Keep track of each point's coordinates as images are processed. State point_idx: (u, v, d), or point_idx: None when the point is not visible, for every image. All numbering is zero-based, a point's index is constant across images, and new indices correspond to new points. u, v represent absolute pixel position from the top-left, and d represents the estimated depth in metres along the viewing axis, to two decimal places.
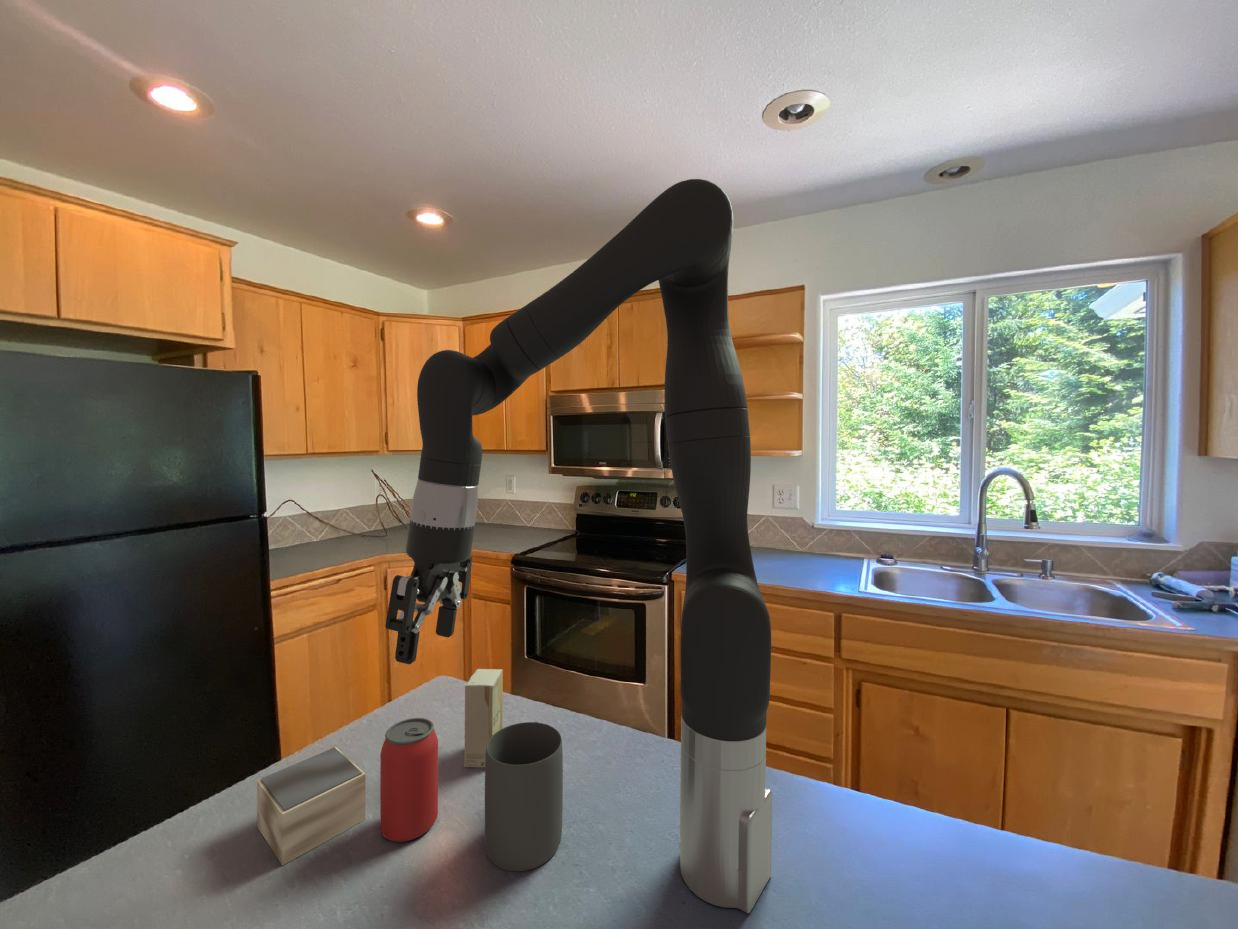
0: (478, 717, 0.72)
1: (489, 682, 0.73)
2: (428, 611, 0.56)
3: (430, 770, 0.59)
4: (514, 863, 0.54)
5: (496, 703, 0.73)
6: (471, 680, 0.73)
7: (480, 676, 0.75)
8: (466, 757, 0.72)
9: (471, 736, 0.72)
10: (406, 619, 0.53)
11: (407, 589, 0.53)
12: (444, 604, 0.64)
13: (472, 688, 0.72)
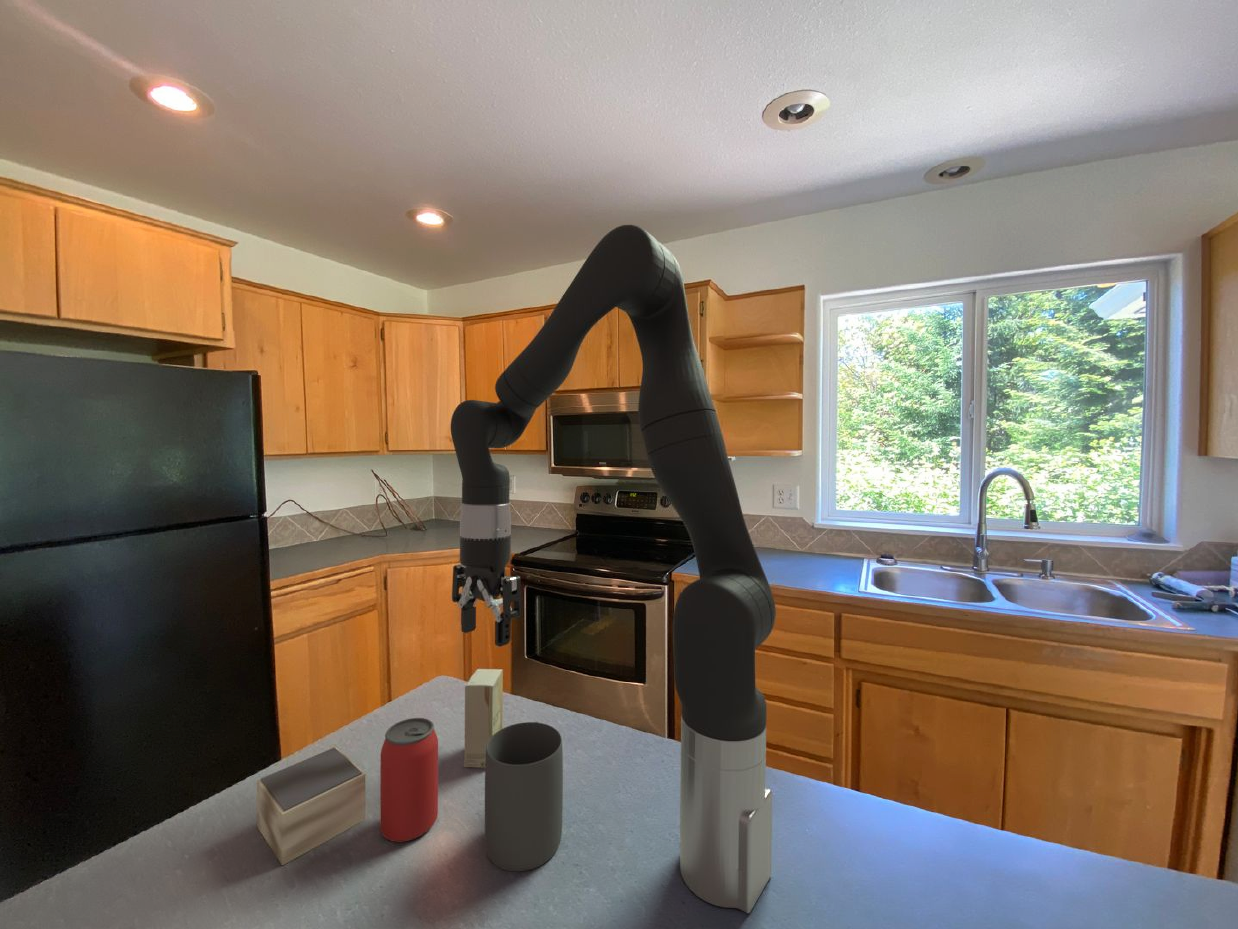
0: (478, 717, 0.72)
1: (489, 682, 0.73)
2: None
3: (430, 770, 0.59)
4: (514, 863, 0.54)
5: (496, 703, 0.73)
6: (471, 680, 0.73)
7: (480, 676, 0.75)
8: (466, 757, 0.72)
9: (471, 736, 0.72)
10: (520, 605, 0.71)
11: (517, 584, 0.71)
12: (466, 606, 0.77)
13: (472, 688, 0.72)
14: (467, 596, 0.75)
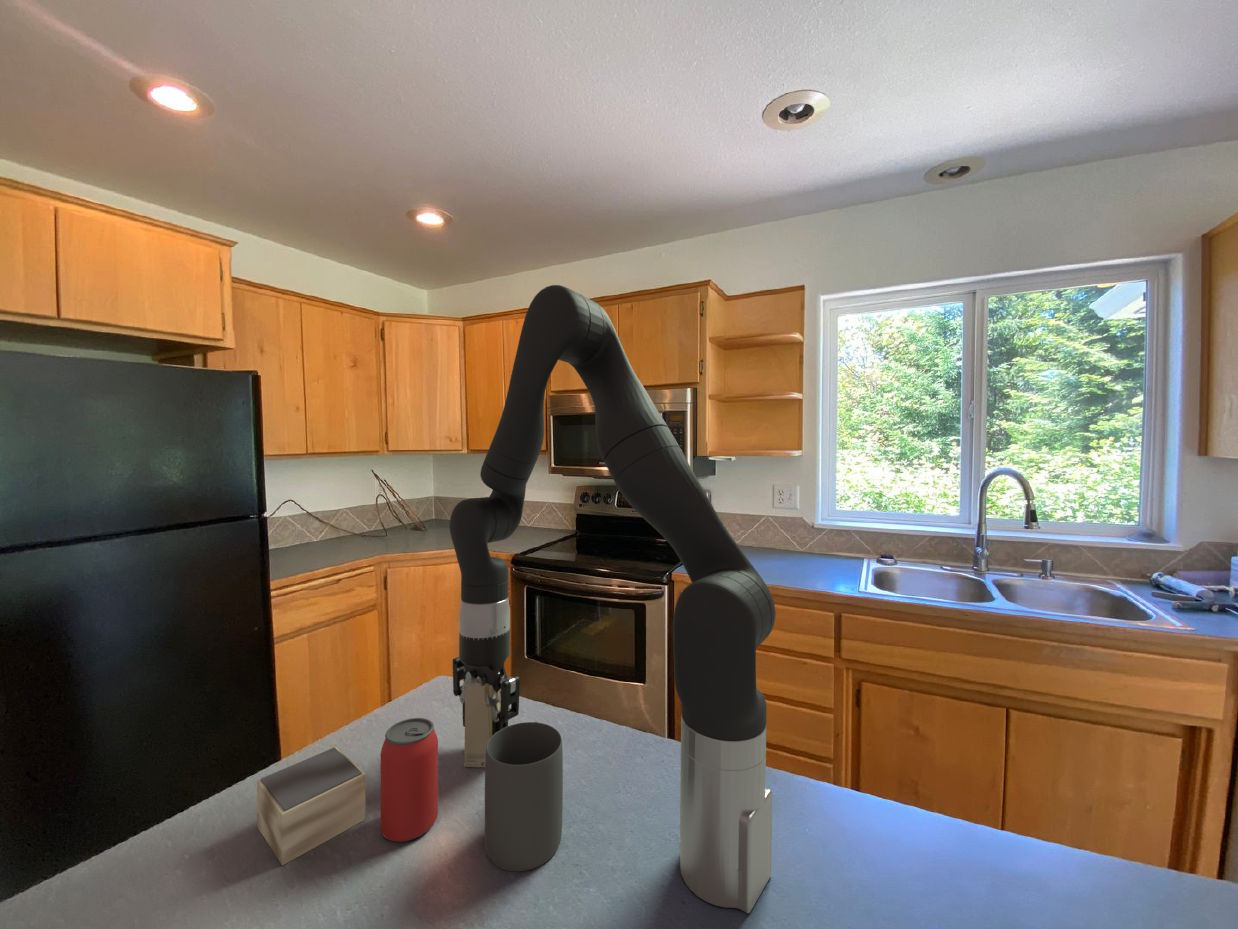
0: (478, 717, 0.72)
1: None
2: None
3: (430, 770, 0.59)
4: (514, 863, 0.54)
5: None
6: (471, 680, 0.73)
7: None
8: (467, 757, 0.72)
9: (471, 736, 0.72)
10: (518, 705, 0.71)
11: (516, 685, 0.71)
12: None
13: (472, 688, 0.72)
14: None
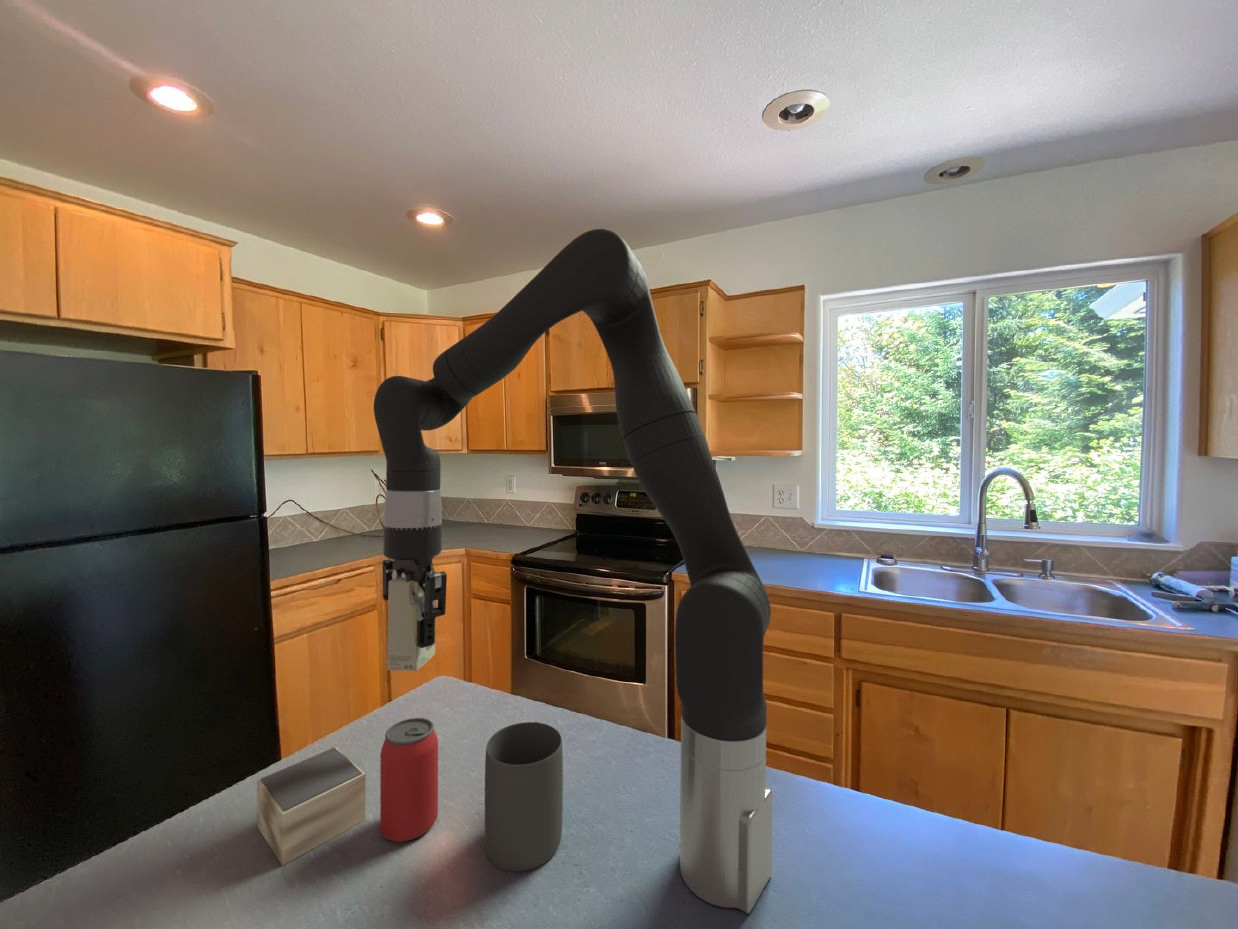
0: (402, 615, 0.65)
1: None
2: None
3: (430, 770, 0.59)
4: (514, 863, 0.54)
5: None
6: (397, 578, 0.67)
7: None
8: (389, 659, 0.65)
9: (394, 637, 0.65)
10: (445, 604, 0.65)
11: (442, 581, 0.64)
12: None
13: (396, 584, 0.65)
14: None
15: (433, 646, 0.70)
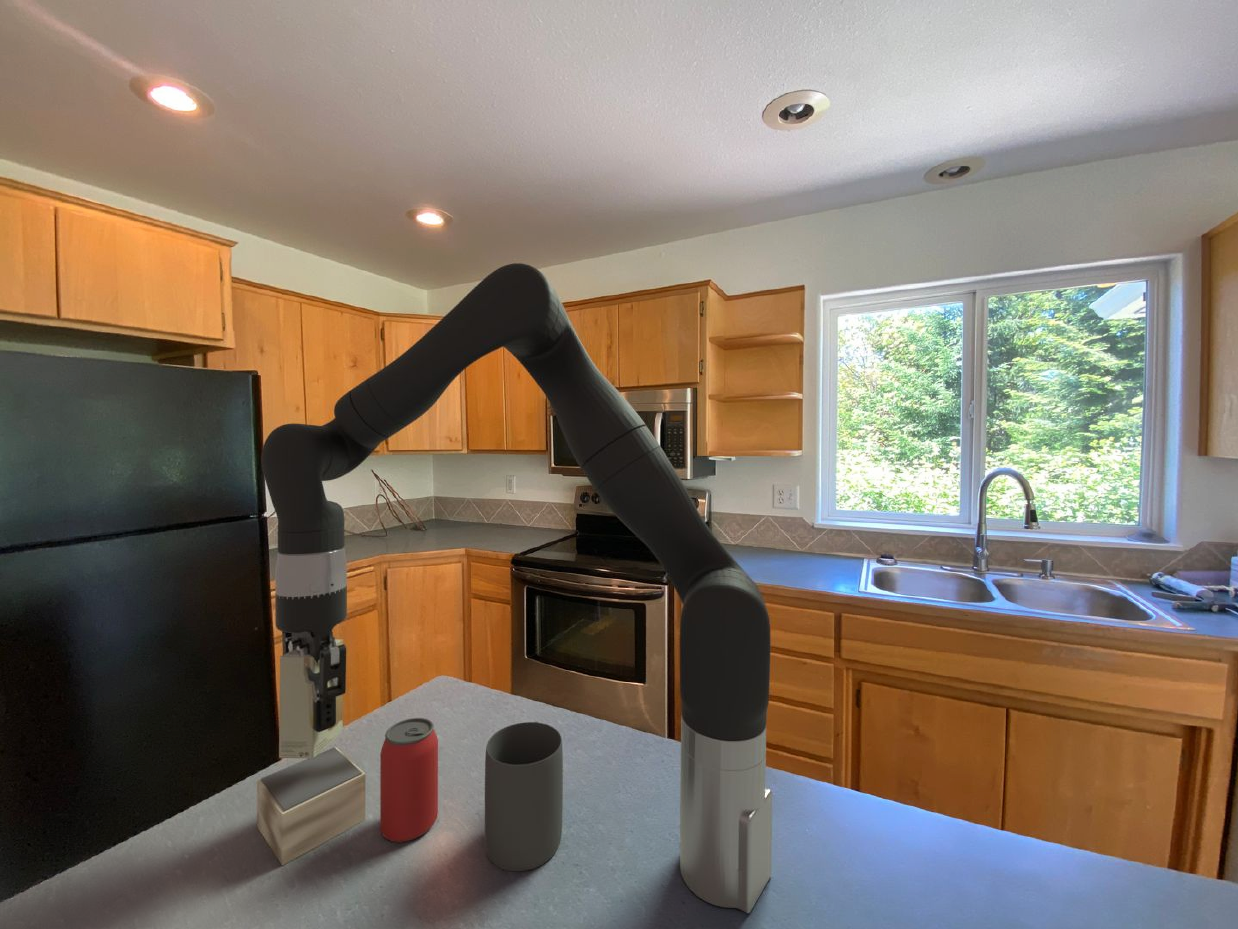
0: (296, 695, 0.57)
1: None
2: None
3: (430, 770, 0.59)
4: (514, 863, 0.54)
5: None
6: (292, 651, 0.59)
7: None
8: (282, 746, 0.57)
9: (287, 720, 0.57)
10: (344, 681, 0.57)
11: (341, 656, 0.57)
12: None
13: (288, 660, 0.57)
14: None
15: (339, 723, 0.63)
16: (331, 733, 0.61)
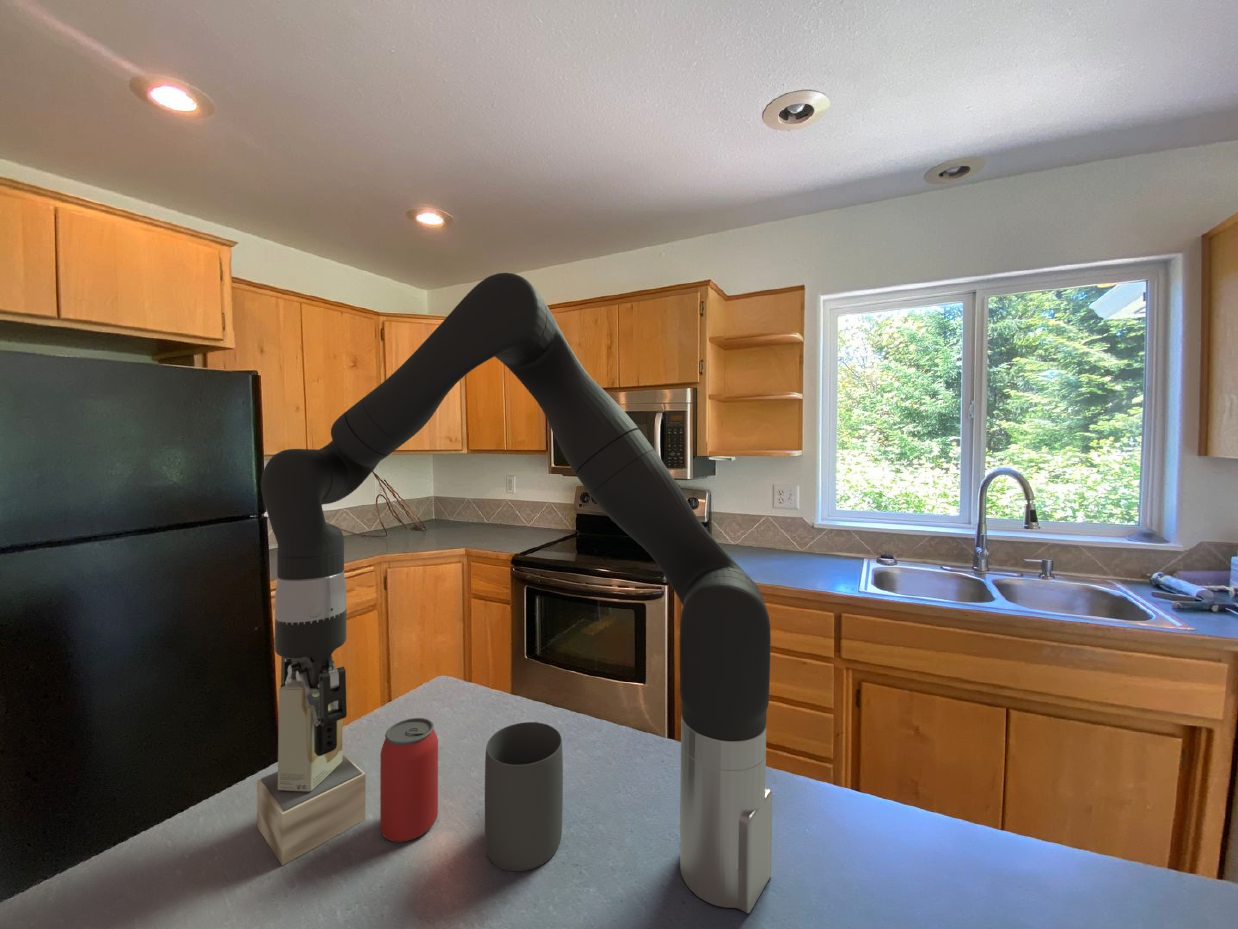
0: (294, 728, 0.58)
1: None
2: None
3: (430, 770, 0.59)
4: (514, 863, 0.54)
5: None
6: (292, 682, 0.59)
7: None
8: (280, 778, 0.58)
9: (285, 752, 0.58)
10: (345, 704, 0.57)
11: (340, 678, 0.57)
12: None
13: (287, 692, 0.58)
14: None
15: (339, 754, 0.63)
16: (330, 764, 0.61)
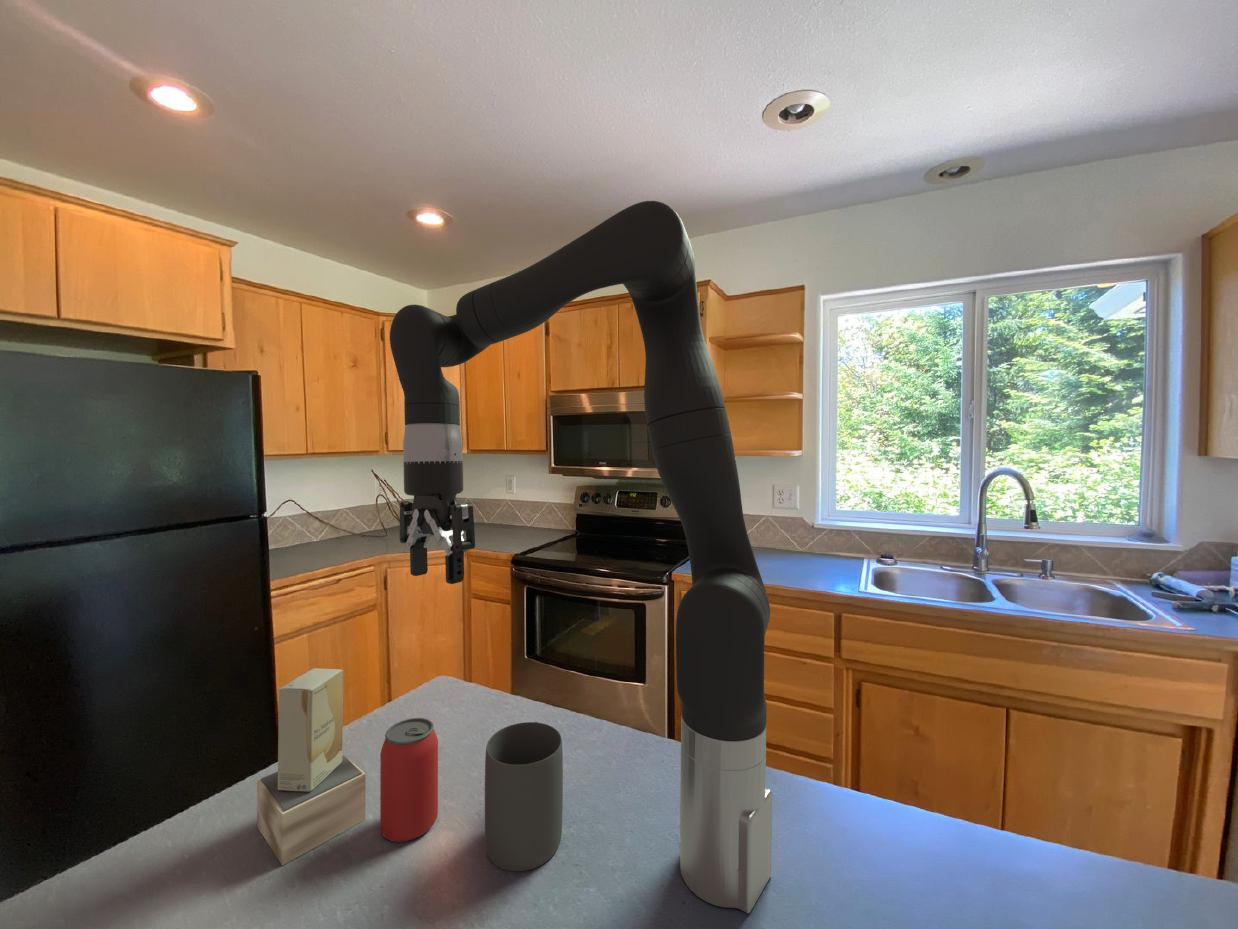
0: (294, 728, 0.58)
1: (312, 685, 0.59)
2: (461, 534, 0.65)
3: (430, 770, 0.59)
4: (514, 863, 0.54)
5: (322, 711, 0.59)
6: (292, 682, 0.59)
7: (307, 677, 0.61)
8: (280, 778, 0.58)
9: (285, 752, 0.58)
10: (474, 536, 0.62)
11: (469, 511, 0.62)
12: (415, 546, 0.68)
13: (287, 692, 0.58)
14: (414, 532, 0.66)
15: (339, 754, 0.63)
16: (330, 764, 0.61)
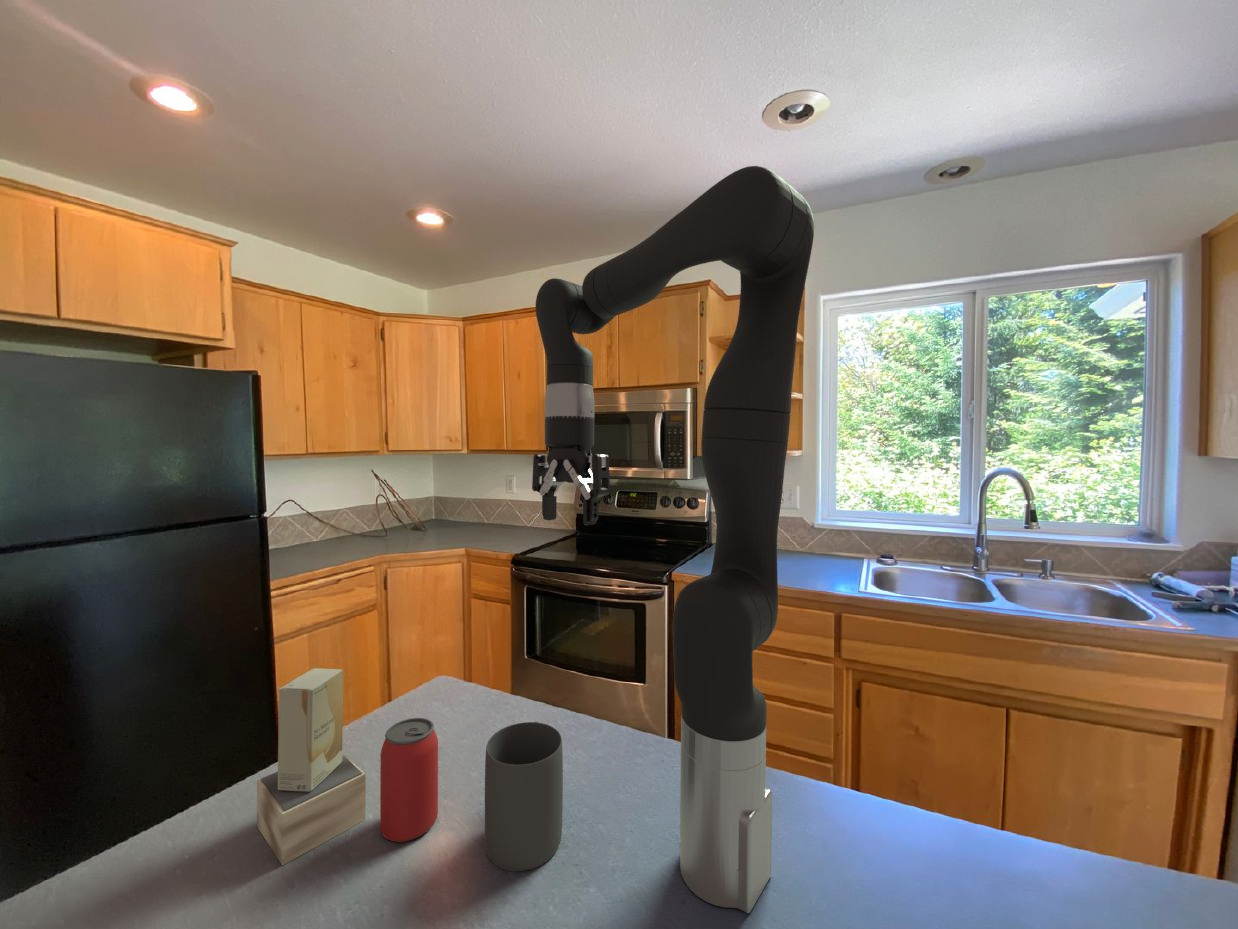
0: (294, 728, 0.58)
1: (312, 685, 0.59)
2: None
3: (430, 770, 0.59)
4: (514, 863, 0.54)
5: (322, 711, 0.59)
6: (292, 682, 0.59)
7: (307, 677, 0.61)
8: (280, 778, 0.58)
9: (285, 752, 0.58)
10: (609, 483, 0.71)
11: (606, 461, 0.70)
12: (548, 493, 0.76)
13: (287, 692, 0.58)
14: (550, 481, 0.75)
15: (339, 754, 0.63)
16: (330, 764, 0.61)
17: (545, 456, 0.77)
